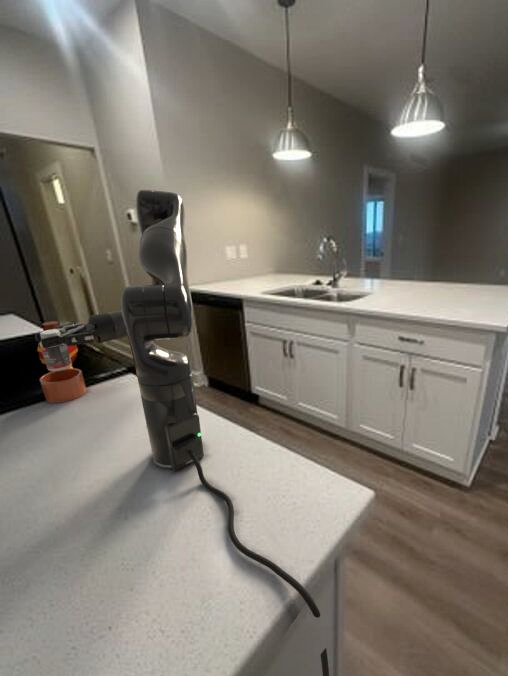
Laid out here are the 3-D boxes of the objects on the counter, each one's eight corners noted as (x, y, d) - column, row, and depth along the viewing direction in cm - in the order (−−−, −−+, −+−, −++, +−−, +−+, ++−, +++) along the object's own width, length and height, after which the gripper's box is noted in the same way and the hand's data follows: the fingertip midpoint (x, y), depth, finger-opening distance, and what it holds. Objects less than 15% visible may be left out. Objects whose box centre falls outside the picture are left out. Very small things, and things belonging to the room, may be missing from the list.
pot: (91, 393, 92) (86, 375, 90) (50, 406, 86) (44, 386, 83) (80, 383, 98) (75, 365, 96) (41, 394, 91) (35, 375, 89)
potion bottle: (89, 367, 108) (77, 321, 102) (53, 379, 100) (38, 330, 94) (72, 361, 113) (60, 316, 107) (36, 371, 105) (21, 324, 99)
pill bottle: (43, 372, 86) (31, 335, 82) (55, 363, 91) (44, 328, 87) (65, 371, 87) (54, 334, 83) (76, 363, 92) (66, 328, 88)
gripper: (99, 308, 98) (27, 320, 87) (119, 317, 89) (41, 332, 78) (105, 333, 101) (36, 348, 90) (124, 344, 92) (50, 362, 81)
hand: (39, 340), depth 84 cm, fingers closed on pill bottle, 5 cm apart
